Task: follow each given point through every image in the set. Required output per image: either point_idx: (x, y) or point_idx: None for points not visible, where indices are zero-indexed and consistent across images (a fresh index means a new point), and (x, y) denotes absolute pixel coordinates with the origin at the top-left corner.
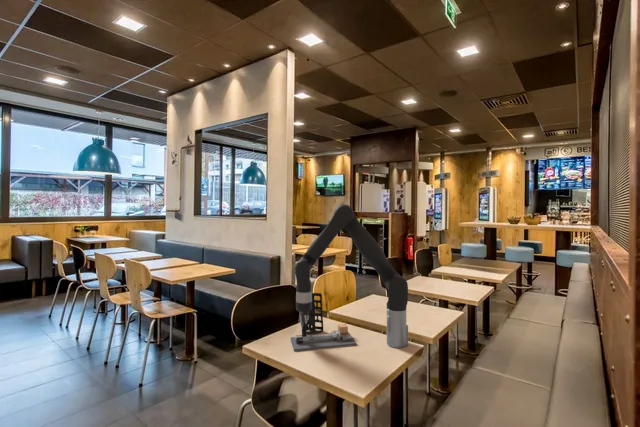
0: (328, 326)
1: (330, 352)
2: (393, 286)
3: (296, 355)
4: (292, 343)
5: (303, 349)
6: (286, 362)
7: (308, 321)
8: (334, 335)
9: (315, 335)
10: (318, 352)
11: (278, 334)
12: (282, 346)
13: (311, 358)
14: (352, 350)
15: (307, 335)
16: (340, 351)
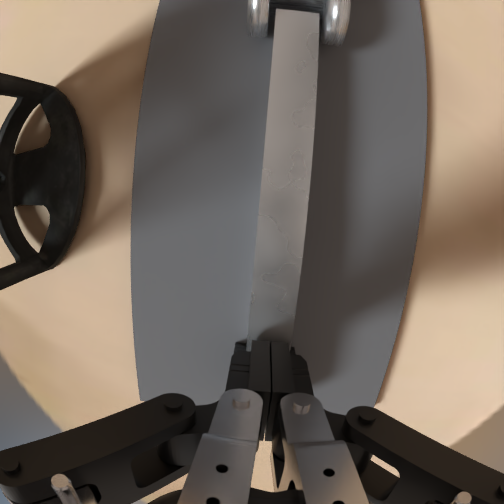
0: (6, 49)
1: (482, 161)
2: None
3: (423, 398)
4: None
5: (386, 355)
6: (455, 439)
7: None
8: (345, 17)
9: (281, 224)
10: (457, 249)
11: (65, 420)
12: (256, 454)
13: (497, 317)
14: (474, 16)
15: (256, 320)
16: (481, 87)
